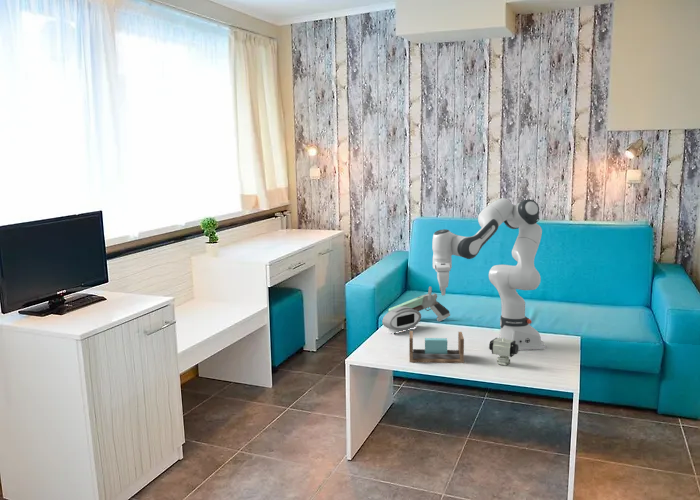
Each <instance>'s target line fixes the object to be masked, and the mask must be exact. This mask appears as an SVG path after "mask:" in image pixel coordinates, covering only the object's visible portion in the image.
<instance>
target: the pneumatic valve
mask: <svg viewBox="0 0 700 500" xmlns="http://www.w3.org/2000/svg"><path fill="white" fill-rule="evenodd" d="M488 348H489V350H490V351H491V355H497V356H498V357H497V358H496V362H497V364H498V365H501V366H504V367H507V366H508V365H509V364H510V363H511V359H510V358H512V357H514V356H515V355H517V354H518V352H519V350H518V344H516V343H515V341H514V340H508V339H505V338H503V339H501V338H499V337H495V338H493V339H492V340H490V342H489V344H488Z"/></svg>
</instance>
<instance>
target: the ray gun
mask: <svg viewBox="0 0 700 500" xmlns="http://www.w3.org/2000/svg"><path fill="white" fill-rule="evenodd" d="M432 289H433V287H432V286H429V287H428V290H427V291H428V292H427V294H423V295H420V296H417V297H414V298H412V299H409V300H407V301H404V302H402V303H399V304H398V305H395V306H392V307H390V308H388V312H390V311H391V310H394V309H395V308H398V307H410V308H412V309H414V310H417V311H419V312H421V311H423V310H425V311H426V312H429V311H433V313H434V314H435V315H436V316H437V317H436V321H437V322H439V323H440V322H441V321H443V320H445V319H447V318H448V317H450V316H451V313H450V310H449V309H448V308H446V307H445V306H444V305H443V304H441V303H440V302H439V301H437V298H438V297H439V296H438V294H437V293H433V294H432V292H433V291H432ZM427 308H428V309H427ZM388 312H387V313H388Z"/></svg>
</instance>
